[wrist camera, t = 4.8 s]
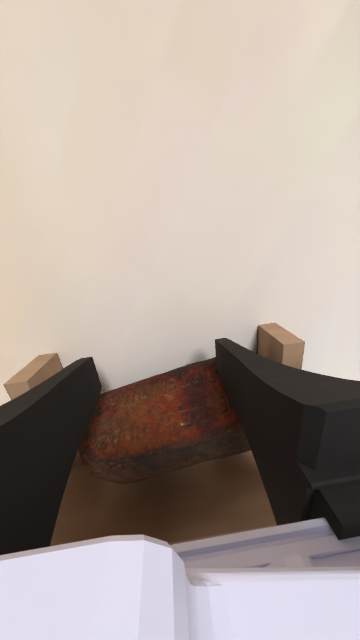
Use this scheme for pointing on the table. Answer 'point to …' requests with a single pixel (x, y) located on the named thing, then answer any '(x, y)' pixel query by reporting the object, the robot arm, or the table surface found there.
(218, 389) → the brick
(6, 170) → the table surface
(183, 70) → the table surface
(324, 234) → the table surface
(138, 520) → the book rack
